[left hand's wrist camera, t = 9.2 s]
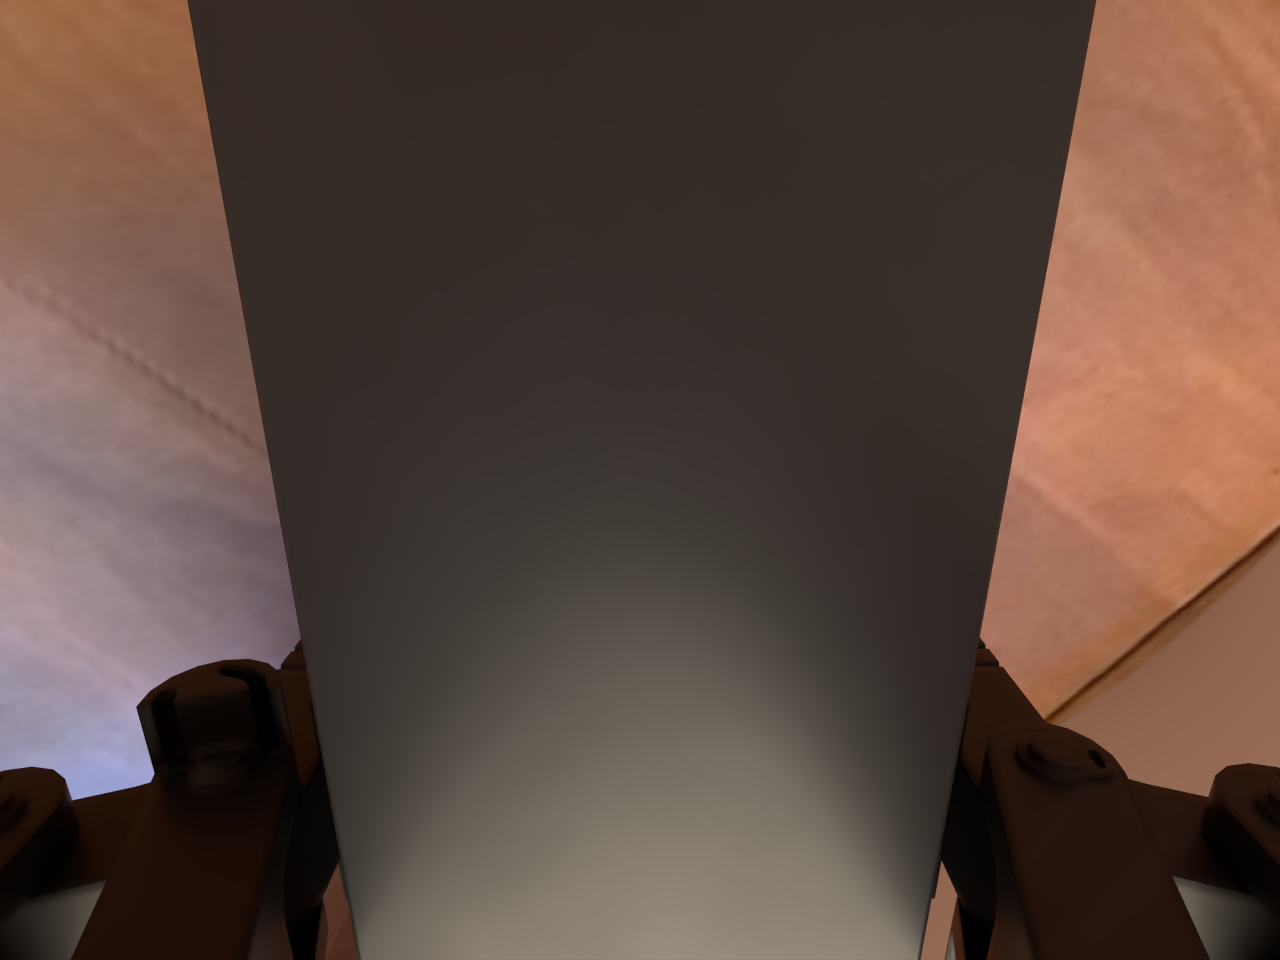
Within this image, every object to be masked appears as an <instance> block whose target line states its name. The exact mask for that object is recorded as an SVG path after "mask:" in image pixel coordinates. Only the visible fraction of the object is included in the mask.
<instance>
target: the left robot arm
mask: <svg viewBox="0 0 1280 960" xmlns="http://www.w3.org/2000/svg"><path fill="white" fill-rule="evenodd" d="M136 708H137V711H138V715H139V719H140V722H141V726H142V729H143V733H144V737H145V740H146V744H147V747H148V751H149V755H150V758H151V762H152V765H153V769H154V772H155V774H154V776H153V779H152V781H151V783H147V784H143V785H140V786H136V787H132V788H128V789H123V790H118V791H114V792H109V793H104V794H100V795H95V796H91V797H86V798H81V799H77V800H72V798H71V795H70V792H69V789H68V786H67V783H66V780H65V778H63V777H62V776H61V775H60V774H58V773H57V772H56V771H55V770H53V769H46V768H38V767H26V768H19V769H12V770H5V771H1V772H0V960H325V953H326V944H327V936H328V923H327V916H326V910H325V904H324V899H323V896H324V893H325V891H326V889H327V887H328V885H329V882H330V880H331V878H332V876H333V874H334V871H335V869H336V867H337V865H338V863H339V869H340V874H341V880H342V885H343V891H344V896H345V898H347V893H346V888H345V882H344V876H343V871H342V865H341V859H340V854H339V848H338V843H337V837H336V831H335V826H334V820H333V815H332V809H331V803H330V798H329V792H328V786H327V781H326V775H325V770H324V764H323V758H322V753H321V747H320V742H319V736H318V730H317V725H316V719H315V713H314V708H313V702H312V697H311V691H310V685H309V680H308V674H307V669H306V663H305V657H304V652H303V646H302V640H300V641H299V642H298V644H297V645H296V646H295V650H294V651H291V653H290V654H289V655H288V656H287V658H286V659H285V660H284V662H283V663H282V664H281V669H280V670H276V669H274V668H273V667H272V666H271V665H269V664H268V663H265V662H260V661H256V660H251V659H238V660H223V661H218V662H214V663H210V664H205V665H201V666H197V667H195V668H192V669H190V670H187V671H185V672H183V673H180V674H178V675H175V676H173V677H171V678H169V679H168V680H166V681H165V682H163V683H162V684H160V685H159V686H157V687H156V688H154V689H152V690H151V691H150V692H149V693H148V694H147V695H146V696H145V697H144V699H143V700H142V701H141V702H140V703H139V704H138V705H137V707H136ZM941 860H942V862H943V864H944V866H945V869H946V871H947V873H948V875H949V877H950V880H951V882H952V884H953V886H954V888H955V891H956V893H957V899H956V904H955V910H954V915H953V920H952V925H951V930H950V935H949V940H948V945H947V950H946V956H945V960H1280V768H1278V767H1272V766H1265V765H1258V764H1251V763H1246V764H1239V765H1231V766H1227V767H1225V768H1224V769H1223V770H1222V771H1220V772H1219V773H1218V774H1216V775H1215V778H1214V781H1213V784H1212V787H1211V790H1210V793H1209V796H1208V797H1205V796H1200V795H1196V794H1191V793H1186V792H1182V791H1177V790H1173V789H1168V788H1163V787H1159V786H1154V785H1149V784H1145V783H1141V782H1138V781H1134V780H1131V779H1128V777H1127V775H1126V773H1125V771H1124V770H1123V769H1122V767H1121V766H1120V765H1119V763H1118V762H1117V761H1116V759H1115V758H1114V757H1113V755H1111V754H1110V753H1109V752H1107V751H1106V750H1105V749H1103V748H1102V747H1101V746H1099V745H1098V744H1097V743H1095V742H1094V741H1093V740H1091V739H1089V738H1087V737H1085V736H1083V735H1080V734H1078V733H1076V732H1074V731H1072V730H1070V729H1068V728H1064V727H1061V726H1057V725H1053V724H1049V723H1046V722H1045V721H1044V719H1043V718H1042V717H1041V716H1040V714H1039V713H1038V712H1037V710H1036V709H1035V708H1034V707H1033V705H1032V704H1031V703H1030V701H1029V700H1028V699H1027V698H1026V696H1025V695H1024V694H1023V692H1022V691H1021V690H1020V689H1019V687H1018V686H1017V685H1016V683H1015V682H1014V681H1013V680H1012V678H1011V677H1010V676H1009V674H1008V673H1007V672H1006V671H1005V669H1004V668H1003V667H999V662H998V660H997V659H996V658H995V656H994V655H993V654H992V653H991V651H990V650H989V649H986V648H985V644H984V642H983V641H982V640H981V638H980V637H979V642H978V648H977V653H976V659H975V664H974V670H973V675H972V681H971V686H970V692H969V697H968V702H967V708H966V713H965V719H964V724H963V730H962V735H961V741H960V746H959V752H958V757H957V762H956V768H955V773H954V779H953V784H952V790H951V795H950V801H949V806H948V812H947V817H946V822H945V828H944V833H943V839H942V844H941V850H940V855H939V861H938V866H937V872H936V877H935V882H934V888H933V893H932V898H935V893H936V888H937V882H938V877H939V871H940V866H941Z"/></svg>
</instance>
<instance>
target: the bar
mask: <svg viewBox="0 0 1280 960" xmlns="http://www.w3.org/2000/svg"><path fill="white" fill-rule="evenodd" d="M1095 4H1096V0H188V6H189V11H190V17H191V23H192V28H193V34H194V39H195V45H196V51H197V56H198V62H199V68H200V73H201V79H202V84H203V90H204V96H205V101H206V107H207V112H208V118H209V124H210V129H211V135H212V141H213V146H214V152H215V157H216V163H217V169H218V174H219V180H220V186H221V191H222V197H223V202H224V208H225V214H226V219H227V225H228V230H229V236H230V242H231V247H232V253H233V259H234V264H235V270H236V275H237V281H238V287H239V292H240V298H241V303H242V309H243V315H244V320H245V326H246V332H247V337H248V343H249V348H250V354H251V360H252V365H253V371H254V376H255V382H256V388H257V393H258V399H259V405H260V410H261V416H262V421H263V427H264V433H265V438H266V444H267V449H268V455H269V461H270V466H271V472H272V478H273V483H274V489H275V494H276V500H277V506H278V511H279V517H280V522H281V528H282V534H283V539H284V545H285V551H286V556H287V562H288V567H289V573H290V579H291V584H292V590H293V596H294V601H295V607H296V612H297V618H298V624H299V629H300V635H301V640H302V646H303V652H304V657H305V663H306V669H307V674H308V680H309V685H310V691H311V697H312V702H313V708H314V713H315V719H316V725H317V730H318V736H319V742H320V747H321V753H322V758H323V764H324V770H325V775H326V781H327V786H328V792H329V798H330V803H331V809H332V815H333V820H334V826H335V831H336V837H337V843H338V848H339V854H340V859H341V865H342V871H343V876H344V882H345V888H346V893H347V899H348V904H349V910H350V916H351V921H352V927H353V932H354V938H355V944H356V949H357V955H358V960H920V959H921V953H922V948H923V942H924V937H925V932H926V926H927V921H928V915H929V910H930V904H931V899H932V893H933V888H934V882H935V877H936V872H937V866H938V861H939V855H940V850H941V844H942V839H943V833H944V828H945V822H946V817H947V812H948V806H949V801H950V795H951V790H952V784H953V779H954V773H955V768H956V762H957V757H958V752H959V746H960V741H961V735H962V730H963V724H964V719H965V713H966V708H967V702H968V697H969V692H970V686H971V681H972V675H973V670H974V664H975V659H976V653H977V648H978V642H979V637H980V632H981V626H982V621H983V615H984V610H985V604H986V599H987V593H988V588H989V582H990V577H991V572H992V566H993V561H994V555H995V550H996V544H997V539H998V533H999V528H1000V522H1001V517H1002V512H1003V506H1004V501H1005V495H1006V490H1007V484H1008V479H1009V473H1010V468H1011V462H1012V457H1013V452H1014V446H1015V441H1016V435H1017V430H1018V424H1019V419H1020V413H1021V408H1022V402H1023V397H1024V391H1025V386H1026V381H1027V375H1028V370H1029V364H1030V359H1031V353H1032V348H1033V342H1034V337H1035V331H1036V326H1037V321H1038V315H1039V310H1040V304H1041V299H1042V293H1043V288H1044V282H1045V277H1046V271H1047V266H1048V261H1049V255H1050V250H1051V244H1052V239H1053V233H1054V228H1055V222H1056V217H1057V211H1058V206H1059V201H1060V195H1061V190H1062V184H1063V179H1064V173H1065V168H1066V162H1067V157H1068V151H1069V146H1070V141H1071V135H1072V130H1073V124H1074V119H1075V113H1076V108H1077V102H1078V97H1079V91H1080V86H1081V81H1082V75H1083V70H1084V64H1085V59H1086V53H1087V48H1088V42H1089V37H1090V31H1091V26H1092V21H1093V15H1094V10H1095Z"/></svg>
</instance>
